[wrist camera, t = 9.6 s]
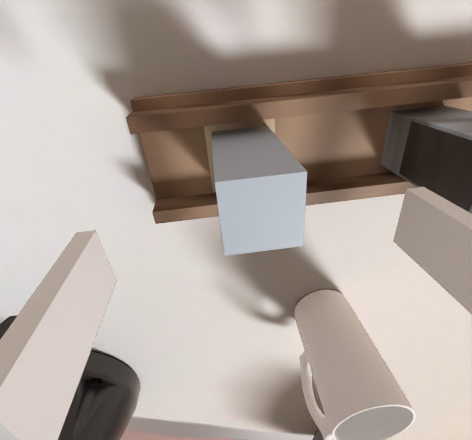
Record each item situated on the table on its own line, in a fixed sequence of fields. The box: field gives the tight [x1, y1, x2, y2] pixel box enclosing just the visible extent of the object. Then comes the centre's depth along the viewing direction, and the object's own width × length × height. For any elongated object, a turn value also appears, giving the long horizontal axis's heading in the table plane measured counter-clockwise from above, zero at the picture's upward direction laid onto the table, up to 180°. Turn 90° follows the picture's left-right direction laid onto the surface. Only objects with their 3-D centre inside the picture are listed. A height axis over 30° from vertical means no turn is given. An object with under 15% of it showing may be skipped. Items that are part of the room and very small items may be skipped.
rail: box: [126, 63, 472, 224], centre depth 17 cm, size 26×9×10 cm, turn 95°
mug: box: [294, 289, 416, 440], centre depth 28 cm, size 10×7×12 cm, turn 153°
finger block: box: [211, 126, 307, 256], centre depth 17 cm, size 4×4×9 cm
